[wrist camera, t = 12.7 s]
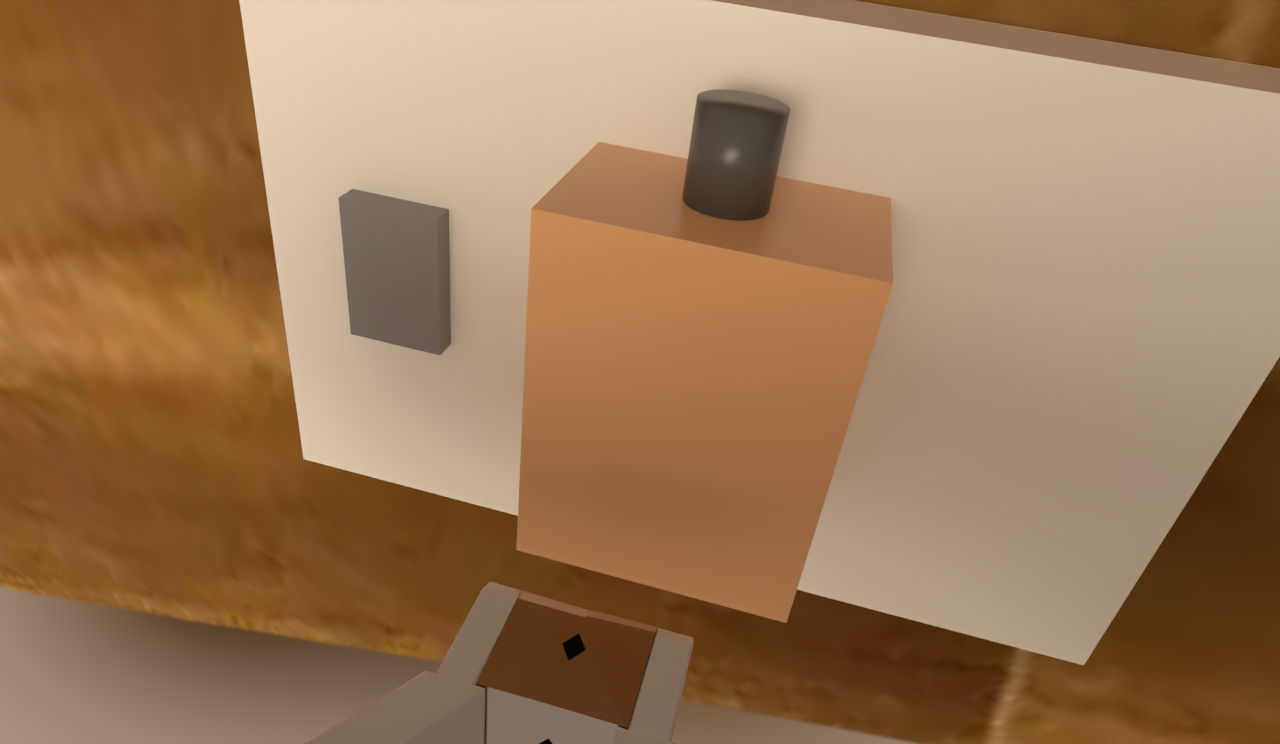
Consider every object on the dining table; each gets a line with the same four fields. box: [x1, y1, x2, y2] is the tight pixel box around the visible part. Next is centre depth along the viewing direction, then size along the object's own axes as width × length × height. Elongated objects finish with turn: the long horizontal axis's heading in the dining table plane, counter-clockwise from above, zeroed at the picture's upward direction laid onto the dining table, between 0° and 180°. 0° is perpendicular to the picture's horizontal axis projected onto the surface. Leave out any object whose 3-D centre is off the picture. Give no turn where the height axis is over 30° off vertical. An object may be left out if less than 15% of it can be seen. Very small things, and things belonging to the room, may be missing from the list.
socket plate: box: [239, 0, 1280, 665], centre depth 20 cm, size 22×14×4 cm, turn 83°
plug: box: [516, 90, 893, 623], centre depth 18 cm, size 6×10×6 cm, turn 173°
